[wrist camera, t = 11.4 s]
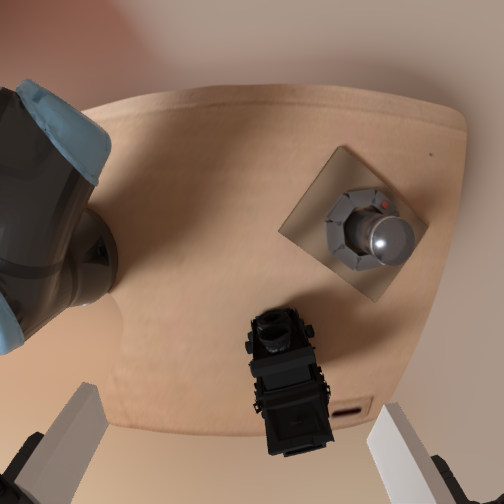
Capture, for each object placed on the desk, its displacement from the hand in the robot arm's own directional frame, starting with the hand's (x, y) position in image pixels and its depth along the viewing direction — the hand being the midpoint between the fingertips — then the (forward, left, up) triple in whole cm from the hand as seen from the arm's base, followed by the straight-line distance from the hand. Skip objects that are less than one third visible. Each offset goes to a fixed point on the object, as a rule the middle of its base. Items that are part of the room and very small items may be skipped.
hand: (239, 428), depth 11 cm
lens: (+10, +13, -28) cm, 32 cm away
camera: (+11, -7, -29) cm, 32 cm away
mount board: (+10, +13, -29) cm, 33 cm away
